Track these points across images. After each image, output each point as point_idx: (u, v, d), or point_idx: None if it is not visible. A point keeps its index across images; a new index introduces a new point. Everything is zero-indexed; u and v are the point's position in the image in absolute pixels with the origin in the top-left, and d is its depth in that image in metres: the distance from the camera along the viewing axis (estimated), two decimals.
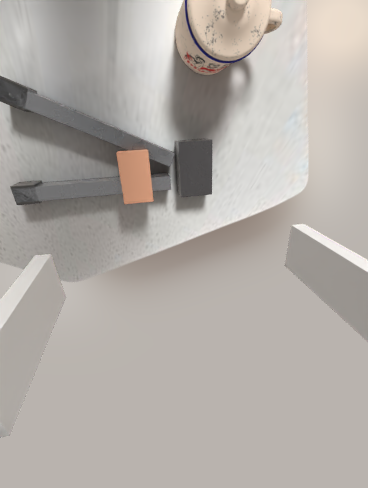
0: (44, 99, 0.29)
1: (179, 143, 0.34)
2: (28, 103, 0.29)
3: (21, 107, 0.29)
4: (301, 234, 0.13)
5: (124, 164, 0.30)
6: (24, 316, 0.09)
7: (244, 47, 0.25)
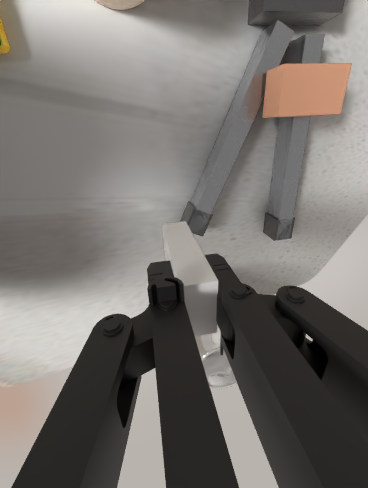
0: (203, 195, 0.27)
1: (265, 8, 0.21)
2: (206, 210, 0.28)
3: (209, 217, 0.29)
4: (176, 231, 0.14)
5: (292, 106, 0.22)
6: None
7: None
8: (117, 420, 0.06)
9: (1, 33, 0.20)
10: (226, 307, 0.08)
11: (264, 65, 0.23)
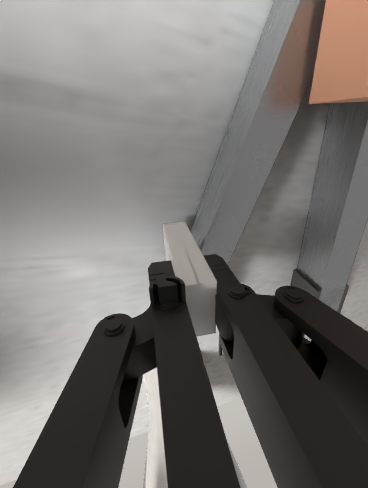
0: None
1: None
2: None
3: None
4: (175, 231, 0.14)
5: None
6: None
7: None
8: (118, 420, 0.06)
9: None
10: (225, 307, 0.08)
11: None
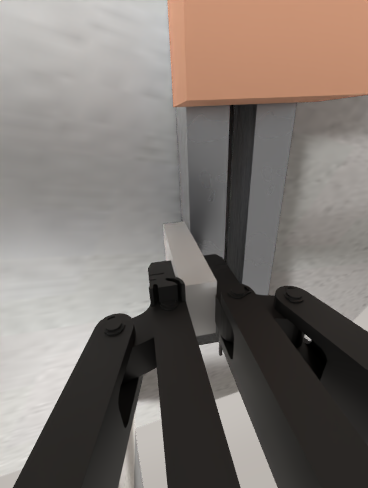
0: None
1: None
2: None
3: None
4: (175, 231, 0.14)
5: (230, 68, 0.07)
6: None
7: None
8: (119, 420, 0.06)
9: None
10: (225, 307, 0.08)
11: None
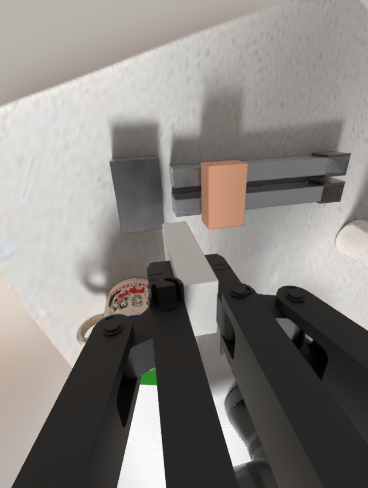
0: (307, 201, 0.30)
1: None
2: (320, 191, 0.30)
3: (326, 185, 0.30)
4: (176, 231, 0.14)
5: (237, 214, 0.26)
6: None
7: None
8: (117, 420, 0.06)
9: None
10: (226, 307, 0.08)
11: None
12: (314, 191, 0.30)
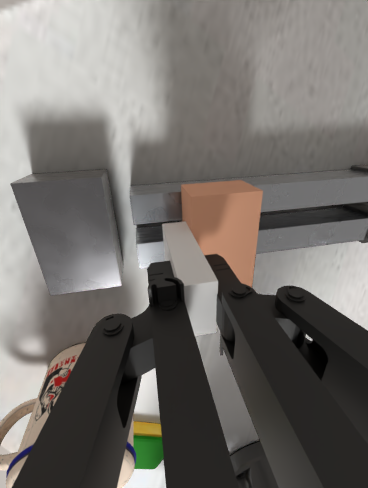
0: (345, 240, 0.20)
1: (118, 283, 0.18)
2: (365, 226, 0.20)
3: None
4: (176, 231, 0.14)
5: (242, 273, 0.15)
6: None
7: None
8: (117, 420, 0.06)
9: None
10: (226, 307, 0.08)
11: None
12: (356, 226, 0.19)
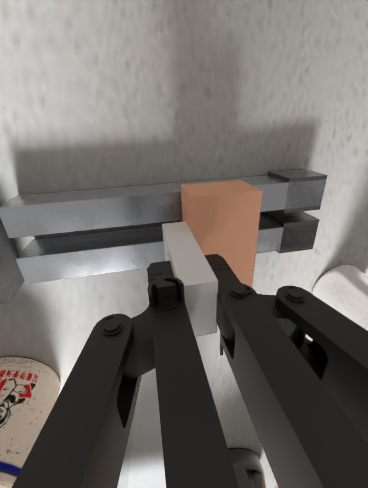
0: (258, 251, 0.19)
1: (5, 299, 0.17)
2: (279, 235, 0.18)
3: (287, 226, 0.18)
4: (176, 231, 0.14)
5: (242, 273, 0.15)
6: None
7: None
8: (117, 420, 0.06)
9: None
10: (226, 307, 0.08)
11: (76, 269, 0.17)
12: (268, 235, 0.18)
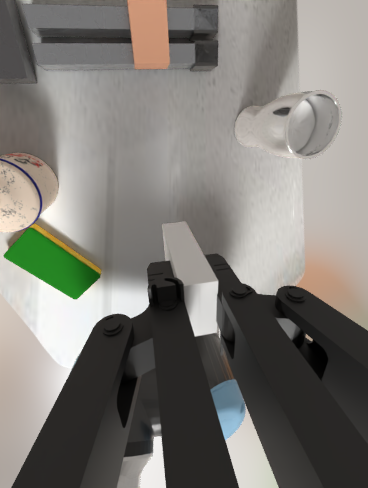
0: (181, 61, 0.30)
1: (25, 76, 0.28)
2: (192, 50, 0.30)
3: (197, 43, 0.30)
4: (176, 231, 0.14)
5: (162, 48, 0.27)
6: None
7: None
8: (117, 420, 0.06)
9: (96, 269, 0.43)
10: (226, 306, 0.08)
11: (67, 58, 0.28)
12: (186, 49, 0.30)
